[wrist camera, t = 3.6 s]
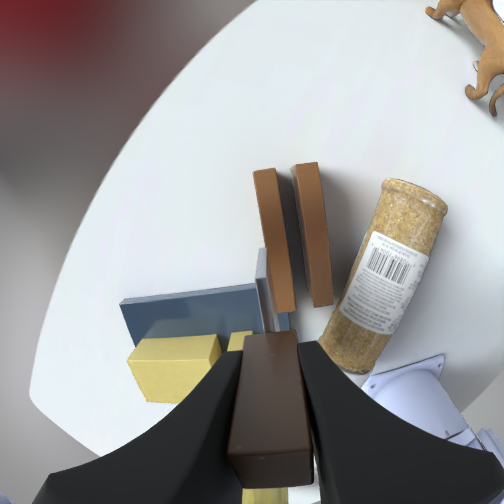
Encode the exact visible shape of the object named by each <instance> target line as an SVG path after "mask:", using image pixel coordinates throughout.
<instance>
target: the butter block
mask: <svg viewBox="0 0 504 504" xmlns="http://www.w3.org/2000/svg"><path fill="white" fill-rule="evenodd" d="M221 355H222V351H221V347H220V344H219V340H218V336H217V334H212V335H200V336H187V337H171V338H149V339H142V340H141V341H140V343H139V344H138V345H137V347H136V348H135V349H134V351H133V352H132V354H131V355H130V356H129V358H128V359H127V363H128V365H129V367H130V369H131V371H132V373H133V376H134V378H135V380H136V382H137V384H138V386H139V388H140V390H141V391H142V393H143V395H144V397H145V399H146V401H147V402H157V403H180V402H181V401H182V400H183V399H184V398H185V397H186V396H187V395H188V394H189V393H190V392H191V391H192V390H193V389H194V387H195V386H196V385H197V384H198V383H199V382H200V381H201V379H202V378H203V377H204V376H205V375H206V373H207V372H208V371H209V370H210V369H211V367H212V366H213V365H214V364H215V362H216V361H217V360H218V359H219V357H220V356H221Z"/></svg>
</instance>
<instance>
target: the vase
mask: <svg viewBox="0 0 504 504" xmlns="http://www.w3.org/2000/svg"><path fill="white" fill-rule="evenodd" d="M242 504H288V487H285V488H270V489H244V488H243V494H242Z"/></svg>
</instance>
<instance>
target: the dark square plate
mask: <svg viewBox="0 0 504 504" xmlns="http://www.w3.org/2000/svg"><path fill="white" fill-rule="evenodd" d="M119 305H120V308H121V311H122V314H123V316H124V319H125V322H126V325H127V327H128V330H129V332H130V335H131V338H132V340H133V343H134V345H135V347H137V345H138V344H139V343H140V341H141V340H142V339H149V338H171V337H187V336H200V335H212V334H217V336H218V340H219V344H220V347H221V351H222V354H223V353H224V351H227V350H228V345H229V341H230V337H231V333H233V332H243V331H251V330H252V331H253V334H262V333H264V329H263V324H262V318H261V312H260V306H259V300H258V295H257V289H256V283H251V284H244V285H237V286H229V287H222V288H214V289H207V290H199V291H191V292H183V293H174V294H166V295H157V296H148V297H138V298H129V299H124V300H123V301H122V302H121V303H120V304H119ZM277 314H278V321H279V328H280V331H286V330H290V323H289V316H288V312H283V313H277Z"/></svg>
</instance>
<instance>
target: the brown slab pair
mask: <svg viewBox="0 0 504 504" xmlns="http://www.w3.org/2000/svg"><path fill="white" fill-rule="evenodd" d="M290 170H291V176H292V182H293V188H294V194H295V201H296V207H297V214H298V221H299V228H300V235H301V242H302V250H303V258H304V266H305V274H306V283H307V289H308V292H309V295H310V298H311V301H312V304H313V307H314V308H316V307H322V306H328V305H333V304H334V299H333V284H332V272H331V261H330V251H329V241H328V232H327V224H326V216H325V208H324V201H323V194H322V187H321V180H320V174H319V168H318V163H317V162H311V163H304V164H296V165H294V166H293V167H291V168H290ZM253 178H254V184H255V190H256V195H257V201H258V207H259V213H260V219H261V225H262V230H263V236H264V242H265V247H267V248H268V254H269V260H270V267H271V273H272V280H273V287H274V293H275V300H276V307H277V313H283V312H290V311H295V310H296V301H295V293H294V286H293V278H292V271H291V263H290V256H289V249H288V242H287V236H286V229H285V223H284V216H283V210H282V204H281V197H280V191H279V185H278V179H277V174H276V169H275V168H269V169H263V170H257V171H253Z"/></svg>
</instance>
